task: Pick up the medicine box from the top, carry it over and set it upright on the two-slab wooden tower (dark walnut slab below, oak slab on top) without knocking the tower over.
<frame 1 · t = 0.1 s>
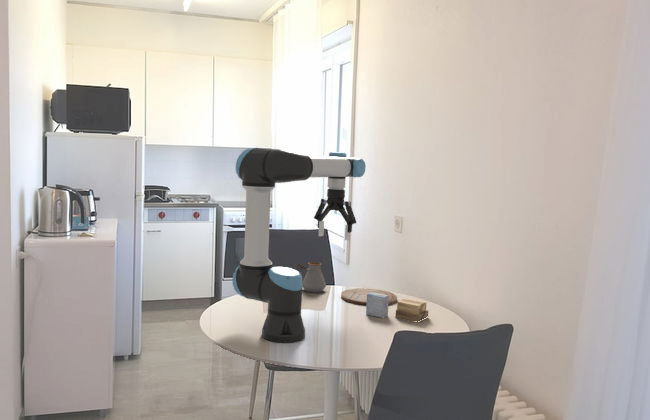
hand: (333, 238, 244), 28 cm above the table, tool pointing down, fingers open, 13 cm apart
coffee pot: (307, 292, 261), on the table
trivet: (368, 299, 255), on the table
oak slab: (411, 310, 228), point 3 cm above the table
medicine box: (376, 316, 229), on the table
walnut slab: (411, 318, 228), on the table
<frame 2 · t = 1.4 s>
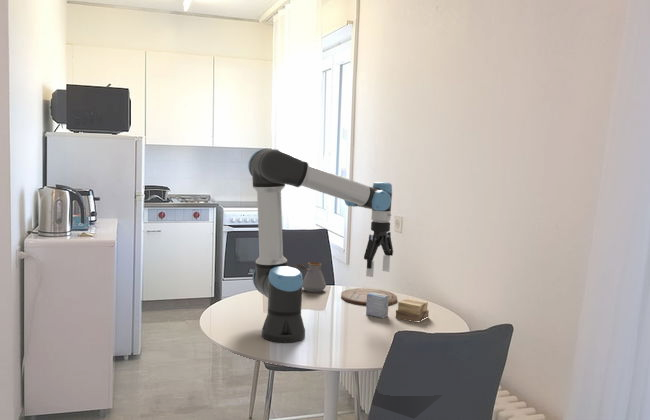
hand: (378, 273, 228), 17 cm above the table, tool pointing down, fingers open, 13 cm apart
oak slab: (412, 310, 227), point 3 cm above the table, touching walnut slab
walnut slab: (411, 318, 228), on the table, touching oak slab
everything else where it was.
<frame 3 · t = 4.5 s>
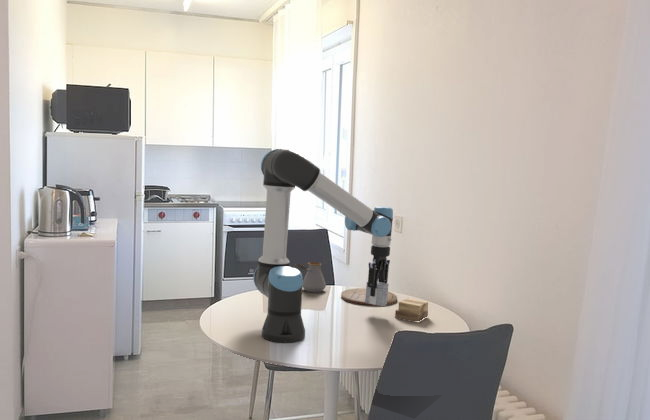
hand: (376, 302, 228), 5 cm above the table, tool pointing down, fingers closed on medicine box, 4 cm apart
medicine box: (375, 304, 228), point 5 cm above the table, touching gripper
everything else where it was.
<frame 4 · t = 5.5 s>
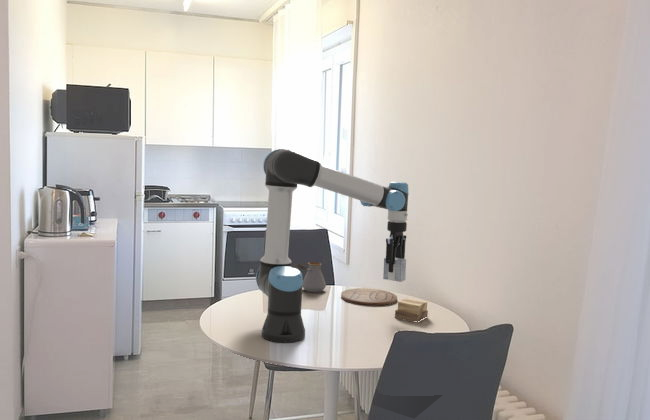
hand: (394, 278, 227), 15 cm above the table, tool pointing down, fingers closed on medicine box, 4 cm apart
medicine box: (394, 280, 227), point 15 cm above the table, touching gripper
everything else where it was.
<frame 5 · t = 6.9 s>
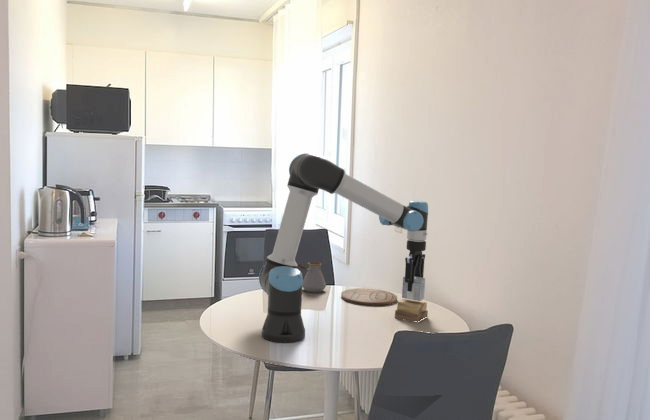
hand: (413, 297, 227), 8 cm above the table, tool pointing down, fingers closed on medicine box, 4 cm apart
medicine box: (412, 299, 227), point 8 cm above the table, touching gripper
everything else where it was.
when the fingers open (7 cm above the table, at t = 7.3 s): medicine box stays where it is, resting on oak slab.
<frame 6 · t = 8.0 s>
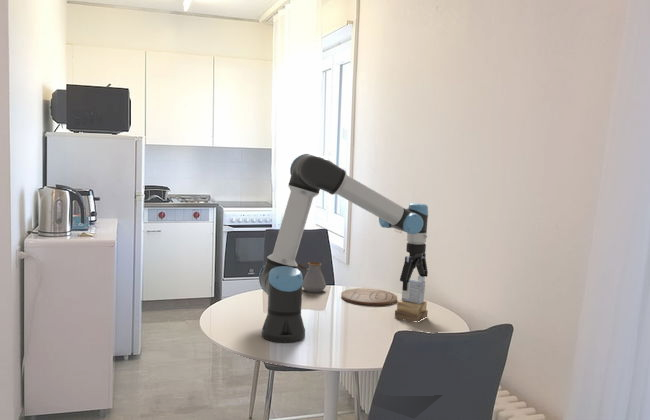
hand: (413, 295, 227), 9 cm above the table, tool pointing down, fingers open, 13 cm apart
oak slab: (411, 310, 228), point 3 cm above the table, touching medicine box, walnut slab
medicine box: (412, 302, 227), point 6 cm above the table, touching oak slab
everything else where it was.
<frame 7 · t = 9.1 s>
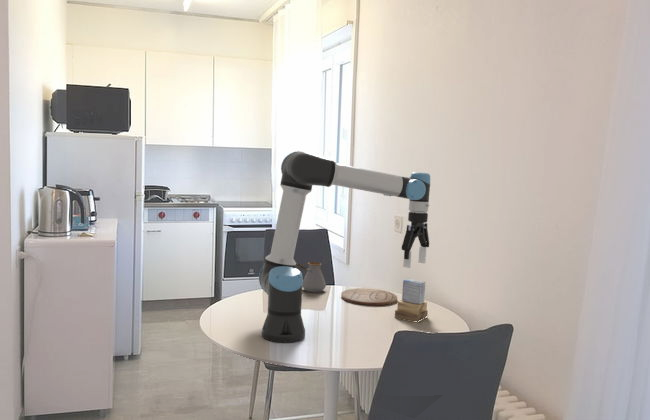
hand: (414, 265, 226), 21 cm above the table, tool pointing down, fingers open, 13 cm apart
nothing on the table moved.
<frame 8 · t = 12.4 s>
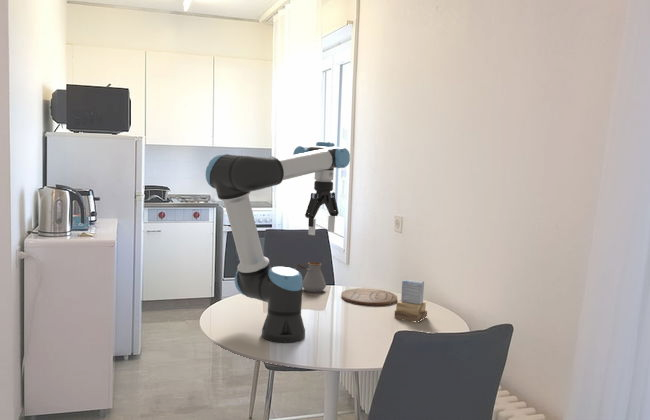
hand: (321, 233, 230), 32 cm above the table, tool pointing down, fingers open, 13 cm apart
at the end: medicine box inside the target area on the walnut slab (0.3 cm from its centre), point 6.8 cm above the walnut slab's base; medicine box tilted 0°; oak slab moved 0.8 cm from its start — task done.
